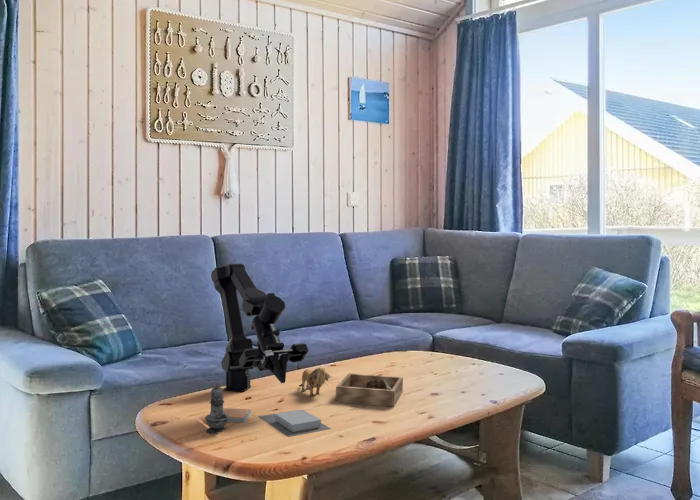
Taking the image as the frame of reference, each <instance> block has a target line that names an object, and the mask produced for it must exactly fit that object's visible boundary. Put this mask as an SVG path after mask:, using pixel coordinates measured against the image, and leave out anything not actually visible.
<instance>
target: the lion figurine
mask: <svg viewBox="0 0 700 500" xmlns="http://www.w3.org/2000/svg"><path fill="white" fill-rule="evenodd" d="M301 376H302V377H301V379H302V380H301V384H299V385H298V387H301V390H300V392H301V393H305V392H306V390H305V385H306V389H307V390H309V396H310V397H314V389H316V391H315V395H318V396H320V395H321V393H320V389H321V387H322V386H323V385H324V384H325V383H326V382H328V381H329V379H330V377H331V375H330V373H328V372H327V371H326V370H325V367H318V368H315V369H313V370H311V369H308V368H307V369H305V370H303V372H302V375H301Z"/></svg>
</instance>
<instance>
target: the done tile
mask: <svg viewBox="0 0 700 500" xmlns="http://www.w3.org/2000/svg"><path fill="white" fill-rule="evenodd" d="M223 411H224V414H227V415H228V416H229V418H228V421H227V423H246V421H247V420H248V418H249V417H250V416H251V414H252V409H250V408H233V407H232V408H230V407H228V408H227V407H223Z"/></svg>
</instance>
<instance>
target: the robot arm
mask: <svg viewBox="0 0 700 500" xmlns="http://www.w3.org/2000/svg"><path fill="white" fill-rule="evenodd" d="M210 277H211V281H212V282H213V286H214V289H215V291H217V293H218V294H219V295H220V296H221V300H222V302H221V303H222V306H223V312H224V318H225V325H226V330H227V335H228V341H227V344H226V347H225V353H224V356H223V358H222V360H221V364H220V365H221V369H222V370H223V371H225V387H224V388H223V391H226V392H228V391H230V392H239V393H240V392H242V393H243V392H245V391H247V390H248V389H250V388H251V386H252V385H251V373H250V370H253V369H254V368H257V370H258V371H259V372H263V371H267V370H268V371H270V372H271V373H272V374H273V375H274V376H275V377H276V379H277V380H278V381H279V383H280V384H285V382H286V381H287V380H286V378H287V366H288V362H291V363H299V362H302V361H303V360H304V359H305V358H306V357H307V354H308V353H309V351H310V350H309V347H308V345H307V344H306V343H305V342H304V343H303V342H302V343H301V342H300V343H294V344H292V345H291V346H290V348H289V349H284V347H285V343H284V342H281V339H280V334H281V333H280V330H279V329H277V327H276V325H275V324H276V323H277V322H278V321H279V319H280V317H281V316H282V314H283V312H284V311H285V309H286V303H285V301H284V300H283V299H282V298H280V297H279V296H276V295H275V292H270V293H269V292H268V293H265V291H262V290H260V289H258V288H257V286H256V285H255V284H254V282H253V281H252V279H251V277H250V276H249V275H248V272H247V271H246V268H245V265H244V264H243V263H229V264H227V265H224V266H216V267H214V269H213V270H211V274H210ZM237 293H239V295H240V297H241V298H242V303H241V307H242V311H243V312H244V314H245V316H246V317H254V318H253V320H252V321H251V327H250V329H251V330H254V332H255V336H256V339H257V342H256V347H254V346H253V341H252V339H251V338H248V337H247V336H246V335H245V332H244V325H243V322H242V316H241V315H242V314H241V309H240V305H239V298H238V294H237Z"/></svg>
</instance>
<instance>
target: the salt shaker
mask: <svg viewBox="0 0 700 500" xmlns="http://www.w3.org/2000/svg"><path fill="white" fill-rule="evenodd" d="M210 399H211V400H210V401H209V404H210V412H209V414H207V415H206V416H205V417H204V419H205V420H206V424H207V426H208V428H207V429H206V433H207V434H208V433H209V435H214V434H217V435H219V433H222V432H225V431H227V428H226V427H225V426H226V425H227V424H228V422H227V421H228V418H229V416H228V415H227V414H224V411H223V408H224V404H225V400H224V388H222V387H220V386H219V383H216V384H215V386H214V387H212V388H211V391H210Z"/></svg>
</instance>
